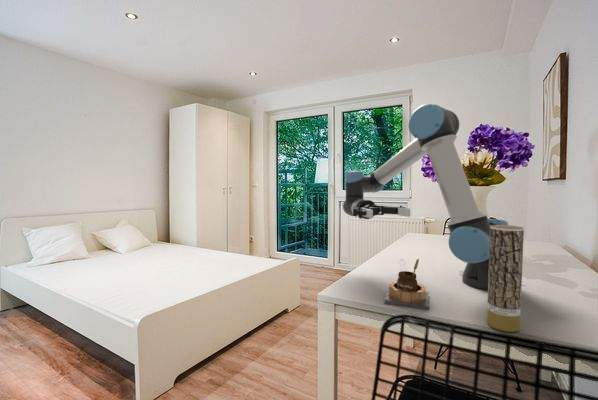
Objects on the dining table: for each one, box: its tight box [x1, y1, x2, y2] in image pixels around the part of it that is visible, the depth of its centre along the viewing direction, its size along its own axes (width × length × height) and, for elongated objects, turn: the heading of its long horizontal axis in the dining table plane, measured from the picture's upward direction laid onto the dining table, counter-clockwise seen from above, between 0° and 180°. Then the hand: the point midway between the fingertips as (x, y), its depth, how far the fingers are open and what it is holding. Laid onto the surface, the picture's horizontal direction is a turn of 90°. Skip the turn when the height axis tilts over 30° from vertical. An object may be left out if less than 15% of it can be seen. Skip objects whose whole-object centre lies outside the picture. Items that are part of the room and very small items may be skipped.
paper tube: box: [486, 224, 525, 333], centre depth 75 cm, size 7×7×25 cm
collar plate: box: [383, 281, 429, 311], centre depth 94 cm, size 12×12×4 cm
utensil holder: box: [397, 258, 420, 291], centre depth 94 cm, size 6×6×12 cm
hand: (390, 213), depth 102 cm, fingers open, 13 cm apart
